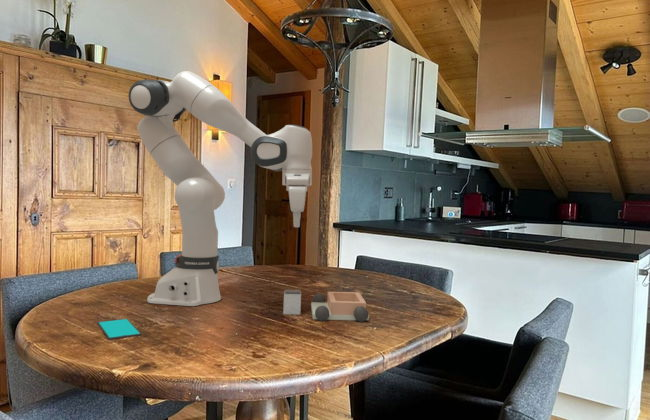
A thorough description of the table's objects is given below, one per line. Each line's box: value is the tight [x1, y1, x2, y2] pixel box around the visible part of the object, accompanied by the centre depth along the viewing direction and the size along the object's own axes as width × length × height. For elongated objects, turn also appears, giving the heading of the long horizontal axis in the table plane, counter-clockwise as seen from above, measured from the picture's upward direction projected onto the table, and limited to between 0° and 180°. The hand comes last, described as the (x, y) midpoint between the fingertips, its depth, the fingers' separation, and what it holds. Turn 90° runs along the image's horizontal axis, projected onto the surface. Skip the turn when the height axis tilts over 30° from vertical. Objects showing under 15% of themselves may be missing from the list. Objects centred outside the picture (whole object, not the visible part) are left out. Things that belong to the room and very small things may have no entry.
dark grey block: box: [282, 289, 302, 316], centre depth 138 cm, size 5×4×6 cm
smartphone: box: [97, 318, 142, 341], centre depth 115 cm, size 7×1×15 cm
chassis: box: [310, 291, 370, 323], centre depth 139 cm, size 16×17×5 cm
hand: (296, 226), depth 139 cm, fingers open, 8 cm apart
